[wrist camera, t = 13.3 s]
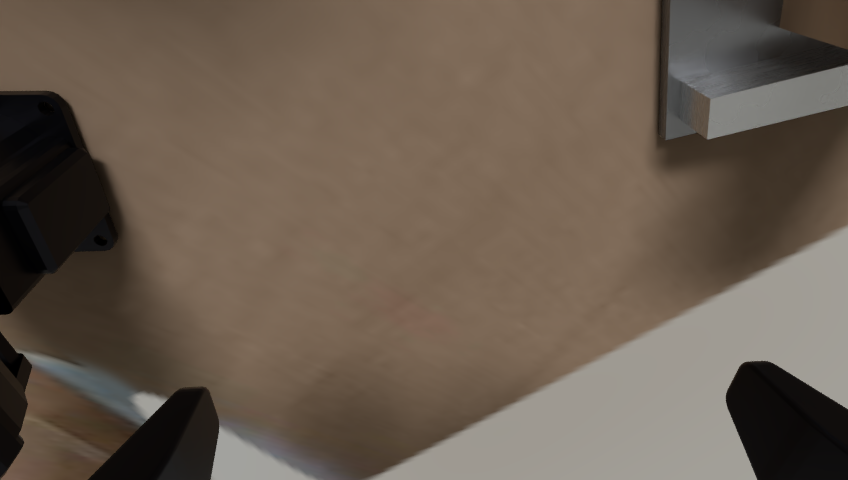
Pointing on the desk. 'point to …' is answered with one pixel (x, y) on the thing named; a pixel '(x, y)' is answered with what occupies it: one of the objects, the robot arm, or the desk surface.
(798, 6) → the tan block
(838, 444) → the robot arm
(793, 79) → the open-ended gray metal tray
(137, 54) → the desk surface
